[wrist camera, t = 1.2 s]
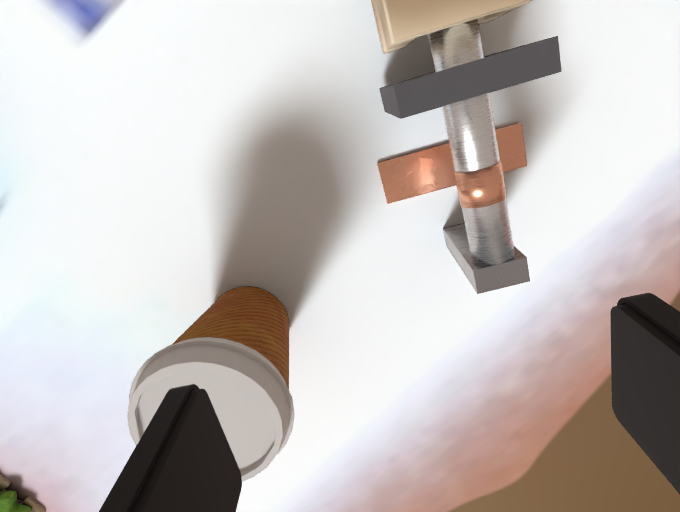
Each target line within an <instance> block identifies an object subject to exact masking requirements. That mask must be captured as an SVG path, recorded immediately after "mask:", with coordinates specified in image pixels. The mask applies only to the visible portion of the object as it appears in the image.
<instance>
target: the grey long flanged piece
mask: <svg viewBox="0 0 680 512" xmlns="http://www.w3.org/2000/svg"><path fill="white" fill-rule="evenodd" d="M428 36H429V41H430V46H431V51H432V56H433V61H434V67H435V72H439V71H442V70H445V69H449V68H452V67H455V66H459V65H462V64H465V63H469V62H472V61H475V60H479V59H482V58H484V55H483V48H482V42H481V35H480V29H479V23H478V18H477V19H474V20H471V21H467V22H464V23H461V24H458V25H455V26H451V27H448V28H445V29H442V30H439V31H435V32H432V33H429V34H428ZM442 108H443V113H444V118H445V124H446V129H447V134H448V139H449V143H446V144H442V145H439V146H435V147H432V148H428V149H425V150H421V151H418V152H414V153H411V154H407V155H404V156H400V157H397V158H393V159H390V160H386V161H383V162H379V163H377V164H378V168H379V172H380V176H381V180H382V184H383V188H384V192H385V196H386V200H387V203H388V204H389V203H392V202H396V201H400V200H403V199H407V198H411V197H414V196H418V195H422V194H425V193H429V192H433V191H436V190H440V189H444V188H447V187H451V186H455V185H457V190H458V196H459V201H460V206H461V207H462V211H463V217H464V222H465V223H463V224H459V225H455V226H451V227H448V228H444V229H443V231H444V236H445V241H446V245H447V248H448V250H449V251H450V253H451V254H452V256H453V257H454V259H455V260H456V262H457V263H458V265H459V266H460V268H461V269H462V271H463V272H464V274H465V276H466V277H467V279H468V280H469V282H470V283H471V285H472V286H473V288H474V289H475V291H476V292H477V294H479V293H483V292H487V291H491V290H496V289H500V288H504V287H508V286H512V285H516V284H520V283H524V282H528V281H530V278H529V271H528V264H527V258H526V256H524V255H523V254H522V253H521V252H520V251H519V250H518V249H517V248H516V247H515V246H513V240H512V234H511V227H510V221H509V215H508V208H507V202H506V197H507V195H506V189H505V183H504V176H503V172H506V171H510V170H513V169H517V168H521V167H524V166H527V162H526V155H525V148H524V140H523V133H522V126H521V123H516V124H513V125H509V126H506V127H502V128H499V129H495V125H494V119H493V112H492V106H491V99H490V93H487V94H483V95H480V96H476V97H473V98H469V99H466V100H463V101H459V102H456V103H452V104H449V105H446V106H442Z"/></svg>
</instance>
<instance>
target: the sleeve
mask: <svg viewBox="0 0 680 512" xmlns="http://www.w3.org/2000/svg"><path fill="white" fill-rule="evenodd" d="M530 1H532V0H371V2H372V6H373V11H374V15H375V20H376V24H377V28H378V33H379V37H380V41H381V46H382V50H383V54H386V53H389V52H392V51H395V50H398V49H402V48H404V47H405V46H406V45H408V44H409V43H410V42H411V41H413V40H414V39H415V38H416V37H419V36H423V35H426V34H429V33H432V32H435V31H439V30H442V29H445V28H448V27H451V26H455V25H458V24H461V23H464V22H467V21H471V20H474V19H477V18H478V23H479V24H482V23H485V22H489V21H492V20H494V19H496V18H498V17H500V16H502V15H504V14H506V13H508V12H510V11H512V10H514V9H516V8H518V7H520V6H522V5H524V4H526V3H528V2H530Z"/></svg>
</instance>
